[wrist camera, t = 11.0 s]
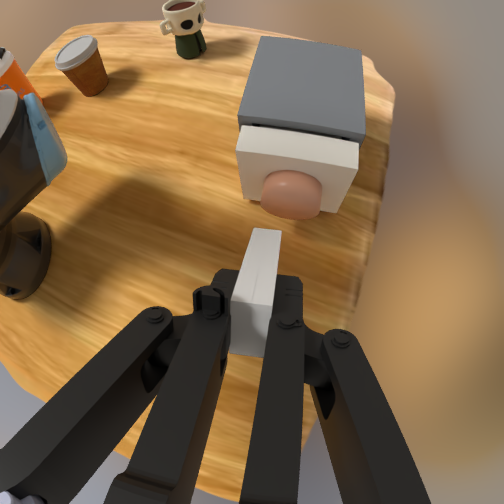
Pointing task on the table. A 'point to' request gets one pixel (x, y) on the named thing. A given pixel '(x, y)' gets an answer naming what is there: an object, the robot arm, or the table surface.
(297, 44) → the block
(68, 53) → the disposable coffee cup
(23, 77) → the shaker bottle
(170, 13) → the character mug
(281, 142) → the white drawer
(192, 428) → the robot arm
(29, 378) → the table surface
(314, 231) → the table surface
